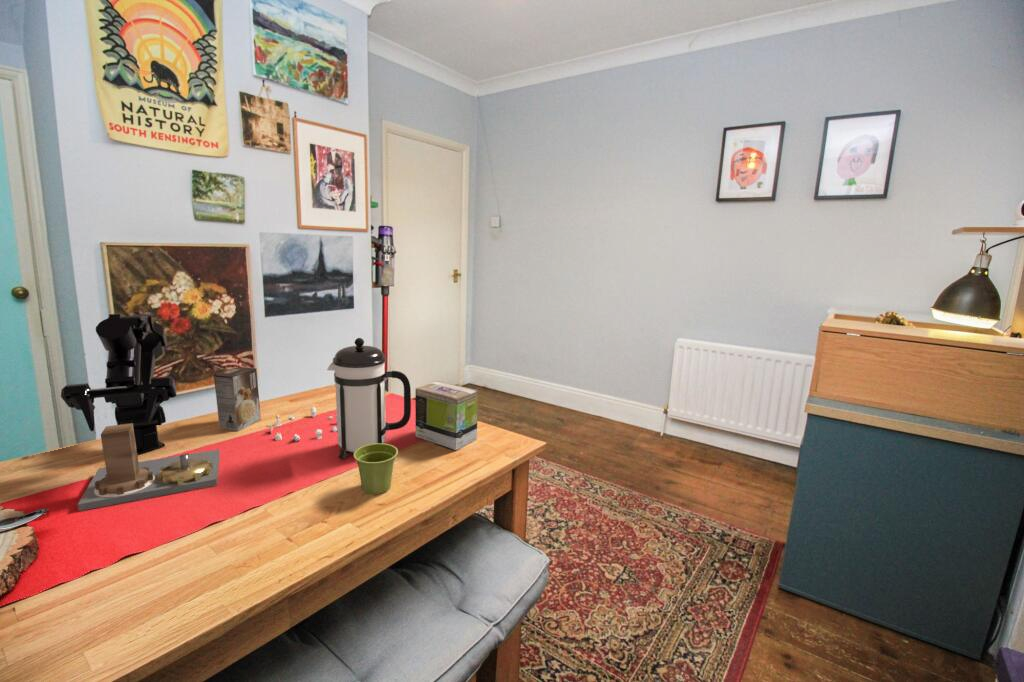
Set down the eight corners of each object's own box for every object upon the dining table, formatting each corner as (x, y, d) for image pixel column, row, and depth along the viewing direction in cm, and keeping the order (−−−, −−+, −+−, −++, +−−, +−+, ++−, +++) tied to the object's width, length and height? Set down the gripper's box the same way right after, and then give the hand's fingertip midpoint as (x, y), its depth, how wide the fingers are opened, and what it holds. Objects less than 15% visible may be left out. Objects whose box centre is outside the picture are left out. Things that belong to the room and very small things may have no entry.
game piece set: (293, 413, 145) (293, 402, 144) (354, 420, 143) (354, 408, 142) (251, 439, 126) (250, 426, 126) (320, 447, 124) (319, 433, 123)
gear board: (99, 474, 105) (98, 467, 105) (219, 454, 116) (219, 448, 116) (79, 511, 91) (77, 503, 91) (217, 485, 103) (216, 478, 102)
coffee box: (243, 417, 140) (238, 365, 137) (261, 419, 139) (257, 367, 135) (218, 428, 131) (213, 374, 128) (238, 431, 130) (233, 376, 127)
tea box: (478, 439, 132) (479, 389, 129) (455, 451, 124) (456, 399, 121) (437, 426, 140) (438, 379, 137) (414, 437, 132) (414, 387, 128)
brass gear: (149, 476, 102) (146, 457, 101) (198, 459, 110) (196, 442, 110) (172, 490, 97) (170, 470, 96) (221, 471, 106) (219, 453, 105)
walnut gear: (102, 478, 100) (93, 424, 98) (156, 469, 105) (149, 417, 102) (90, 500, 92) (80, 441, 90) (149, 489, 97) (141, 433, 94)
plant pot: (406, 482, 107) (406, 447, 105) (382, 503, 99) (381, 465, 97) (371, 474, 110) (371, 440, 108) (345, 493, 101) (344, 457, 100)
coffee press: (361, 469, 112) (358, 348, 106) (319, 451, 121) (314, 338, 114) (412, 444, 127) (412, 336, 120) (372, 430, 135) (369, 328, 129)
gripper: (179, 376, 116) (180, 434, 109) (80, 385, 107) (73, 449, 100) (172, 353, 107) (172, 414, 100) (64, 360, 98) (55, 428, 91)
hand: (120, 427), depth 98 cm, fingers open, 9 cm apart
